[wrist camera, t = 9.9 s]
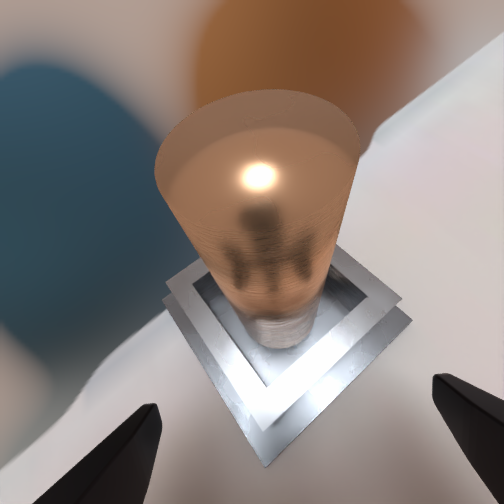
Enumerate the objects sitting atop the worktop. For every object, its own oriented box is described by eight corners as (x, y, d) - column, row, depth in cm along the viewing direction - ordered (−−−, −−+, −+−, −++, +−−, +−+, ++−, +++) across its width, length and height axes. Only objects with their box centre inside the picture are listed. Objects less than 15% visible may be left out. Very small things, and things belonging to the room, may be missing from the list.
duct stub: (265, 465, 14) (258, 486, 10) (164, 302, 19) (137, 280, 16) (409, 322, 17) (441, 301, 13) (284, 215, 22) (283, 180, 19)
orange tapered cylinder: (296, 363, 16) (308, 266, 4) (227, 326, 17) (113, 188, 6) (326, 293, 18) (387, 104, 6) (262, 266, 19) (222, 79, 8)
